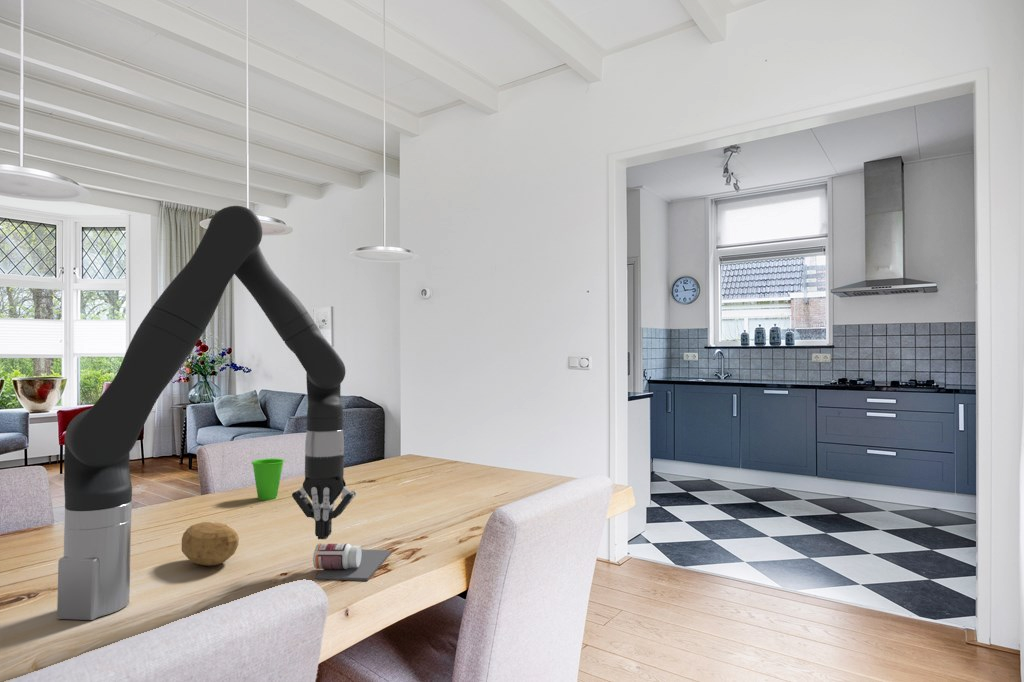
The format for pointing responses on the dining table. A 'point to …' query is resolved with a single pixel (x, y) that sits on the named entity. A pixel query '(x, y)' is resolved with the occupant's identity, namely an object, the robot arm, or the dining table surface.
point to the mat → (362, 573)
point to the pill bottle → (336, 556)
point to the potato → (209, 543)
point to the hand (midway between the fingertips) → (323, 538)
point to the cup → (267, 477)
